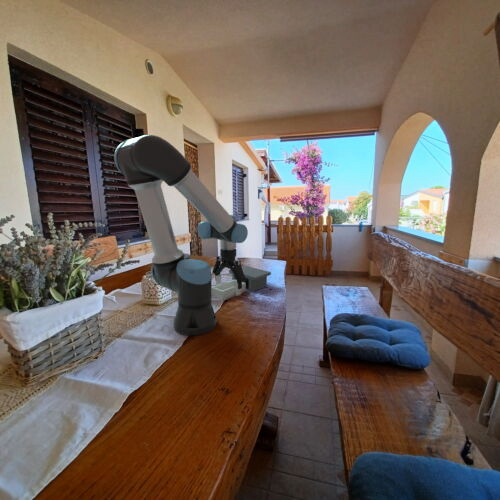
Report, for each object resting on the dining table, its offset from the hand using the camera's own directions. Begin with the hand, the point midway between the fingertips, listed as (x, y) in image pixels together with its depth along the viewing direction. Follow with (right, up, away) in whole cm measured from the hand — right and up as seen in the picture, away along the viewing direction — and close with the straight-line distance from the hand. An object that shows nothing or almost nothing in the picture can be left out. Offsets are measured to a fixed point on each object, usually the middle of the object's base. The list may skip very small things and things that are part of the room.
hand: (228, 291), depth 122 cm
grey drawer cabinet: (+11, +1, +13) cm, 17 cm away
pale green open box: (0, -1, +1) cm, 1 cm away
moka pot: (-25, 0, +6) cm, 26 cm away
